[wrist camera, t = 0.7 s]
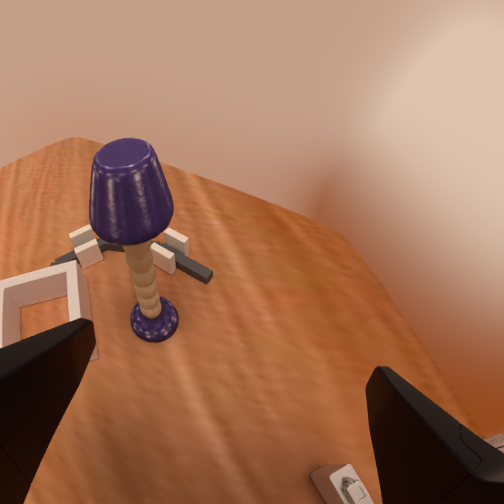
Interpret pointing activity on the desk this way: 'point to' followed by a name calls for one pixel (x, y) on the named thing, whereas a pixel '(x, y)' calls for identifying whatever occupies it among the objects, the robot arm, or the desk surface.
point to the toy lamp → (134, 224)
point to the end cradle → (42, 296)
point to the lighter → (340, 485)
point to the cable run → (180, 259)
